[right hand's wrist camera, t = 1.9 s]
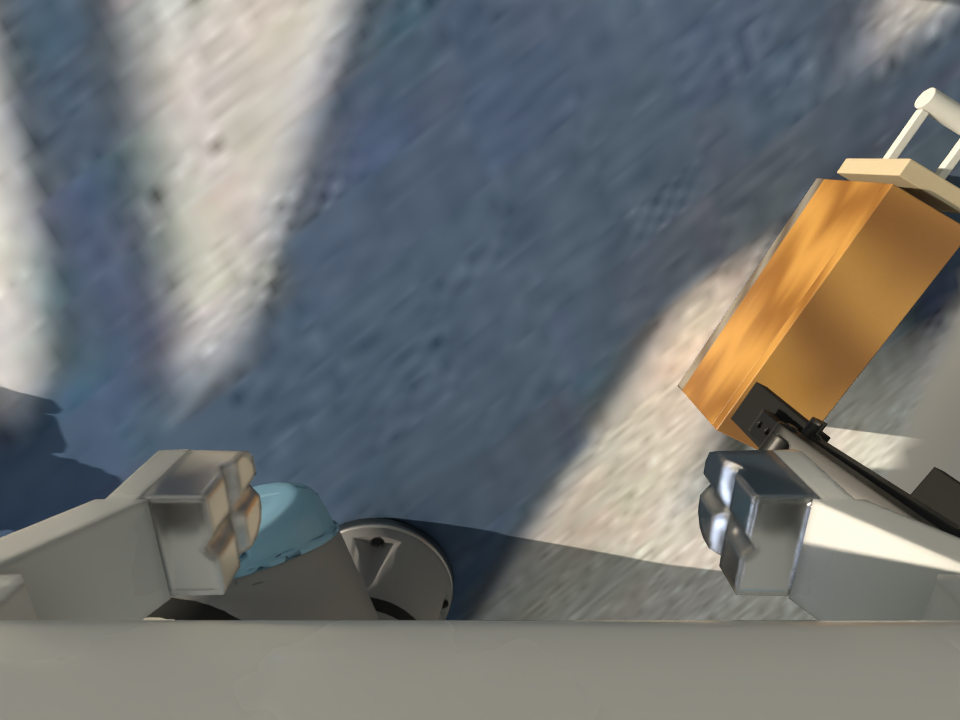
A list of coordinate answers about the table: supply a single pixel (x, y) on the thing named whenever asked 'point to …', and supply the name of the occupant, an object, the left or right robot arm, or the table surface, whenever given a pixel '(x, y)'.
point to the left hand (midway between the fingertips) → (838, 445)
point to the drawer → (907, 170)
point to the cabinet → (822, 300)
